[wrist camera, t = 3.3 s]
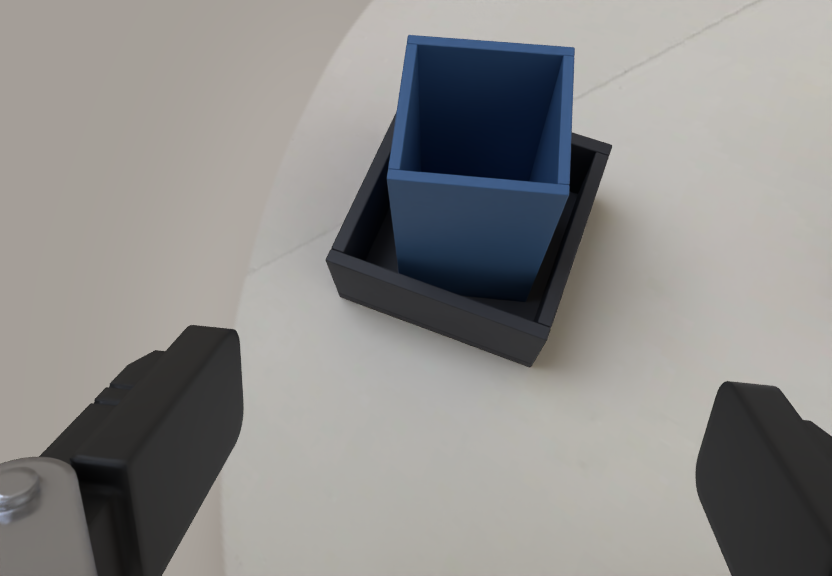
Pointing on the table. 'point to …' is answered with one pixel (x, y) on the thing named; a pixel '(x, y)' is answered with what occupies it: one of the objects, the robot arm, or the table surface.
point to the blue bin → (480, 162)
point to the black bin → (446, 311)
